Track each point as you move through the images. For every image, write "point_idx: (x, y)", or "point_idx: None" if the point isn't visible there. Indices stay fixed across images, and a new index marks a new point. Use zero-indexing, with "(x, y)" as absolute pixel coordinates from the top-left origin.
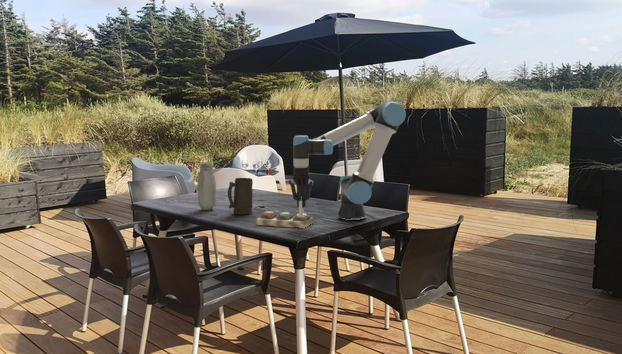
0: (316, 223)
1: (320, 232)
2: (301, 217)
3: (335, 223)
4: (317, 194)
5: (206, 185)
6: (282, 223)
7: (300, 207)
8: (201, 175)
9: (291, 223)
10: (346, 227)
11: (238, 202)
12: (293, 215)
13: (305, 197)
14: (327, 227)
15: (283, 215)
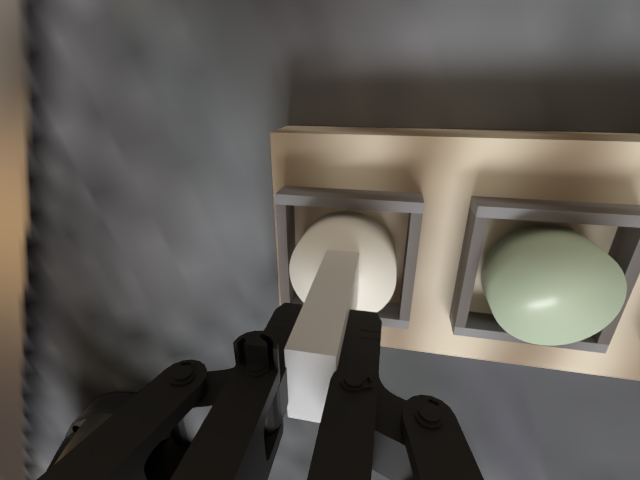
0: (273, 309)
1: (105, 7)
2: (328, 218)
3: (164, 327)
4: None
5: None
6: (528, 135)
7: (328, 292)
8: None
9: (420, 132)
10: (53, 235)
11: None
12: (453, 324)
13: (181, 403)
14: (150, 206)
15: (559, 236)
